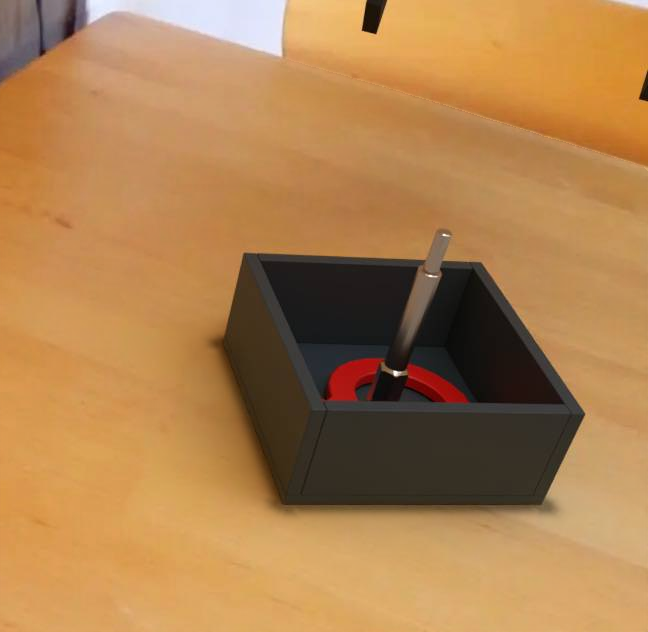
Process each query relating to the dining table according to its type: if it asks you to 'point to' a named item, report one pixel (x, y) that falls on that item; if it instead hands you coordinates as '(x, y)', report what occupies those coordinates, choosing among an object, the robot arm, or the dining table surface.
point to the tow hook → (401, 347)
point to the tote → (413, 407)
